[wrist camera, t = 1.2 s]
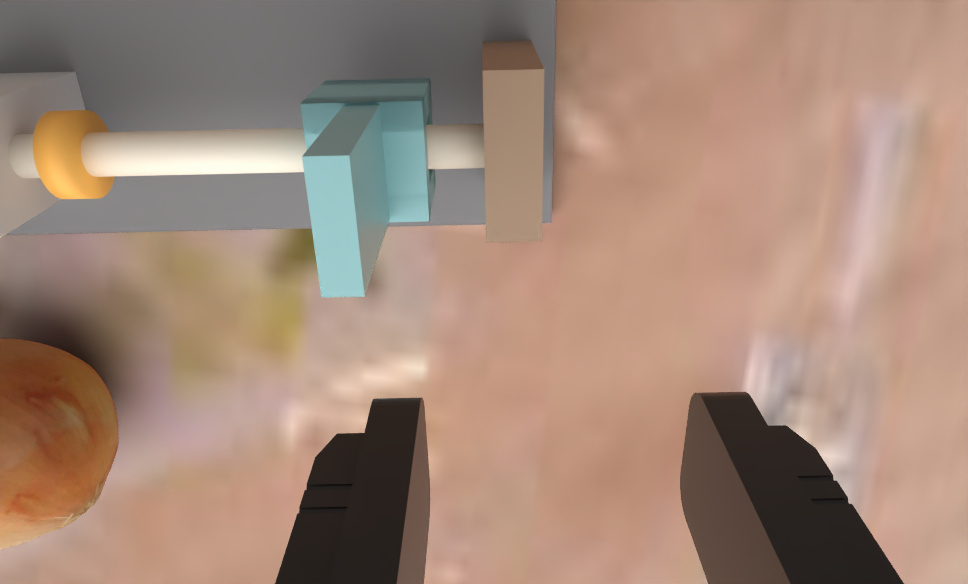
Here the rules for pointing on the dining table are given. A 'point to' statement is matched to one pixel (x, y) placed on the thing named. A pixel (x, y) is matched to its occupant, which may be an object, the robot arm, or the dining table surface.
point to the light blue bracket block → (364, 172)
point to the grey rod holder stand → (261, 109)
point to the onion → (50, 439)
